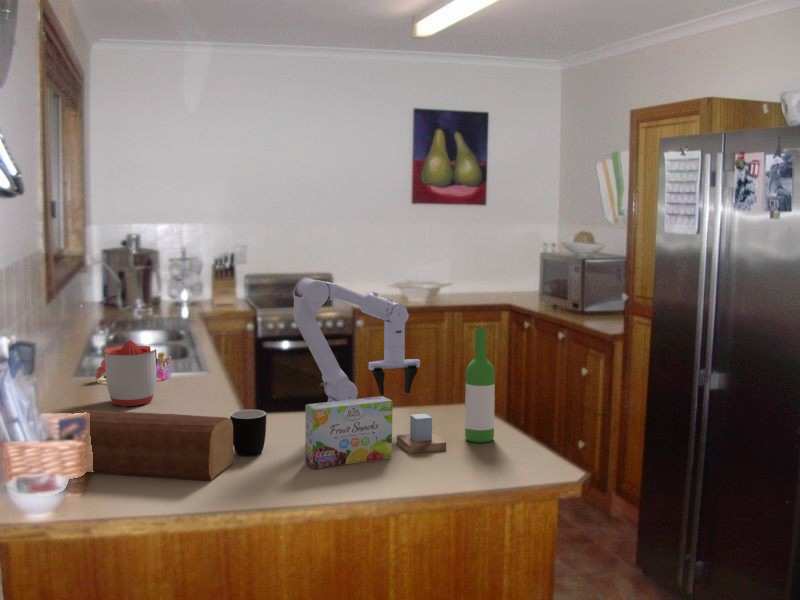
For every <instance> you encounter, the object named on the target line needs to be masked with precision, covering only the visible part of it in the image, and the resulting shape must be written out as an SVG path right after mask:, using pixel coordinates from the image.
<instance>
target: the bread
mask: <svg viewBox="0 0 800 600" xmlns="http://www.w3.org/2000/svg"><path fill="white" fill-rule="evenodd" d="M84 412H87V413H90V436H91V445H92V452H93V471H94V473H93V474H100V473H101V475H102V474H103V475H114V474H116V475H115V476H117V475H118V476H130V477H132V476H133V477H145V478H159V479H175V480H176V479H177V480H190V481H191V480H192V481H212V480H213V479H215V477H217V476H218V475H219V474H220V473H222V472H223V471H224V470H225V469H227V468H229V466H231V464H233V463H234V446H233V424H232V420H231V419H230V417H225V416H224V417H223V416H206V415H192V414H178V413H156V412H132V411H113V410H112V411H109V410H95V409H81V410H78V411H74V412H71V413H70V414H74V413H84Z"/></svg>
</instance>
